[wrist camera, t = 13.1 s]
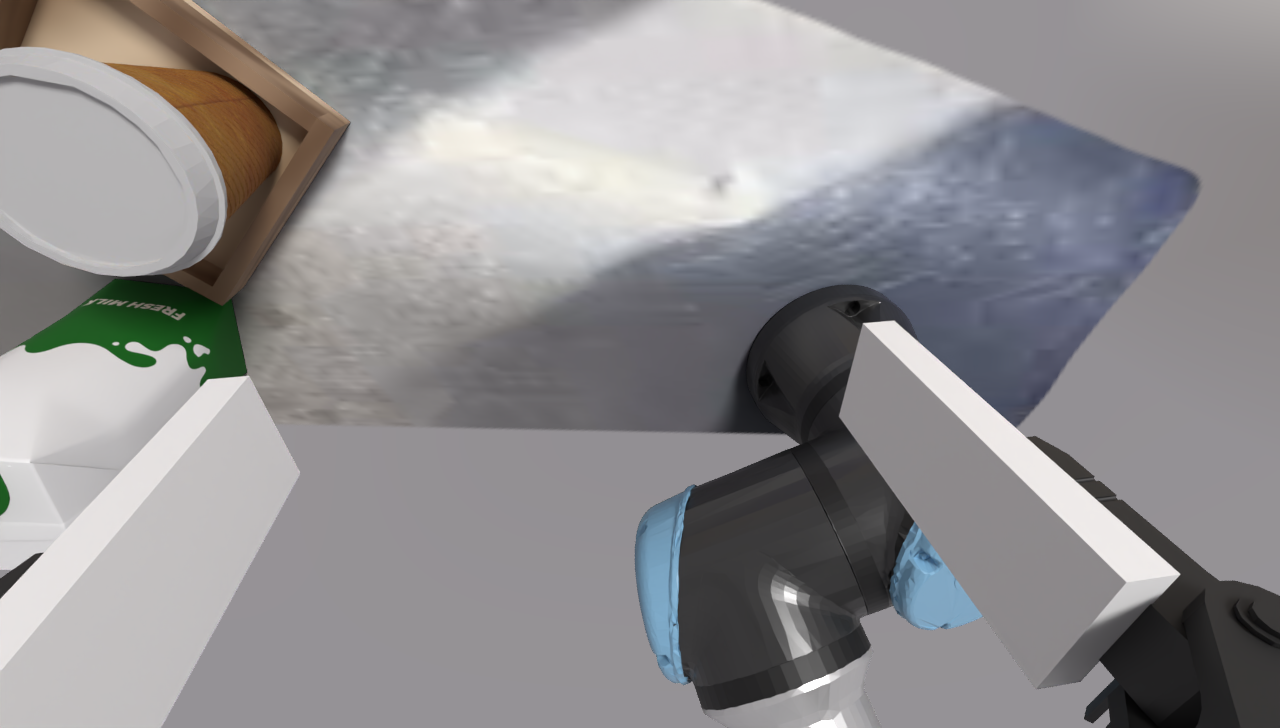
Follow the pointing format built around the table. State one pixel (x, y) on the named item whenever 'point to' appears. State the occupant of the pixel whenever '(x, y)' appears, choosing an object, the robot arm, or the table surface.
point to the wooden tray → (194, 40)
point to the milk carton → (99, 399)
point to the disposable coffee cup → (125, 159)
